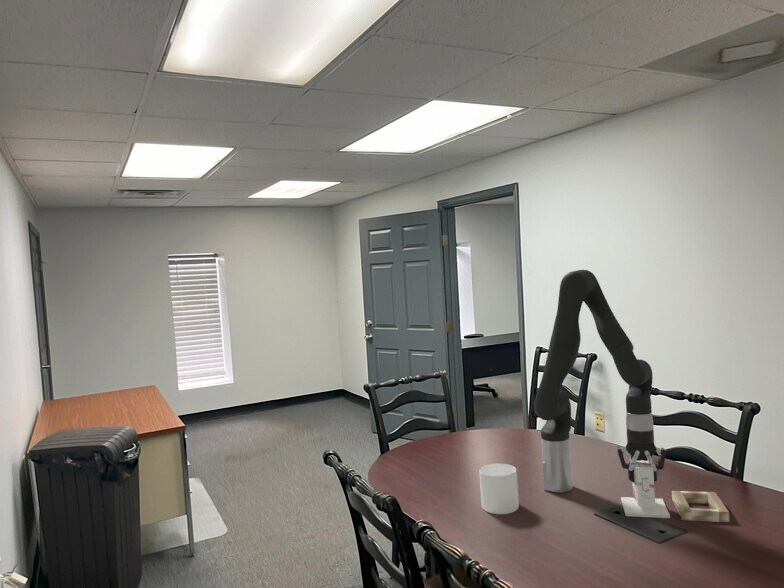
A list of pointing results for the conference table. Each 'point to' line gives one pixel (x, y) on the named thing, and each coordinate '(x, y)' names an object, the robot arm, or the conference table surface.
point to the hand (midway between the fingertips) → (642, 481)
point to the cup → (499, 488)
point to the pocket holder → (696, 514)
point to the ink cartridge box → (644, 483)
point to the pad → (644, 508)
